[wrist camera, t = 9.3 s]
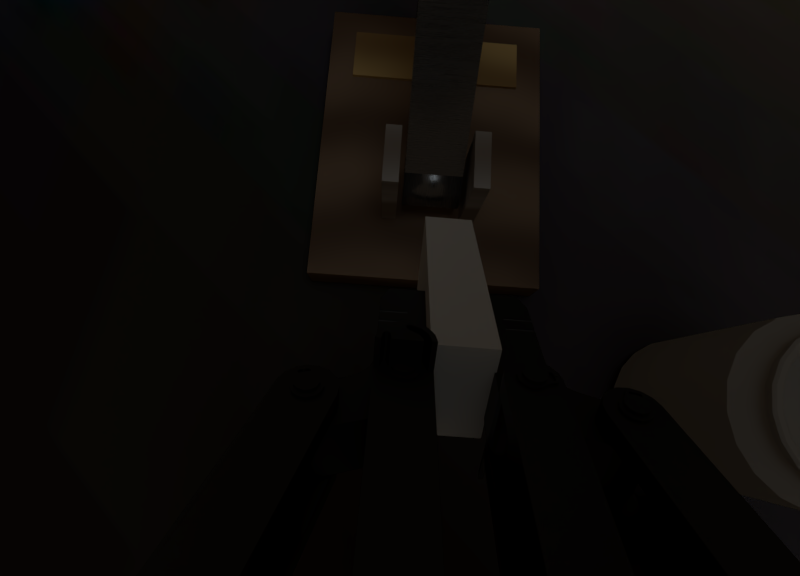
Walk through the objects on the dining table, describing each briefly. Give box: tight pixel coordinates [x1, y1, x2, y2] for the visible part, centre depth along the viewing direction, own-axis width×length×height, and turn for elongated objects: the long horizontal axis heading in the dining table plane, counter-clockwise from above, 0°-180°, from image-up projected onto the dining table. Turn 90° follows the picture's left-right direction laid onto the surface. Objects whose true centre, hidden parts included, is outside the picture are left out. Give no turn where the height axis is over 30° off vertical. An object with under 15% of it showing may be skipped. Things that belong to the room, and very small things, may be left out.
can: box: [614, 314, 800, 510], centre depth 23 cm, size 8×8×12 cm
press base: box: [307, 12, 540, 296], centre depth 28 cm, size 17×13×7 cm
